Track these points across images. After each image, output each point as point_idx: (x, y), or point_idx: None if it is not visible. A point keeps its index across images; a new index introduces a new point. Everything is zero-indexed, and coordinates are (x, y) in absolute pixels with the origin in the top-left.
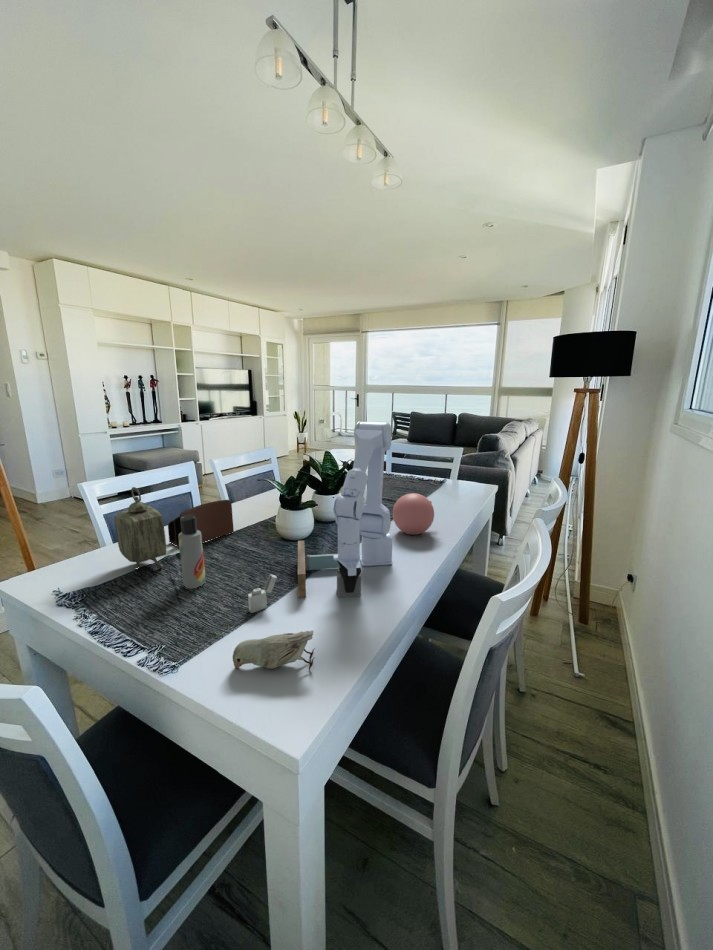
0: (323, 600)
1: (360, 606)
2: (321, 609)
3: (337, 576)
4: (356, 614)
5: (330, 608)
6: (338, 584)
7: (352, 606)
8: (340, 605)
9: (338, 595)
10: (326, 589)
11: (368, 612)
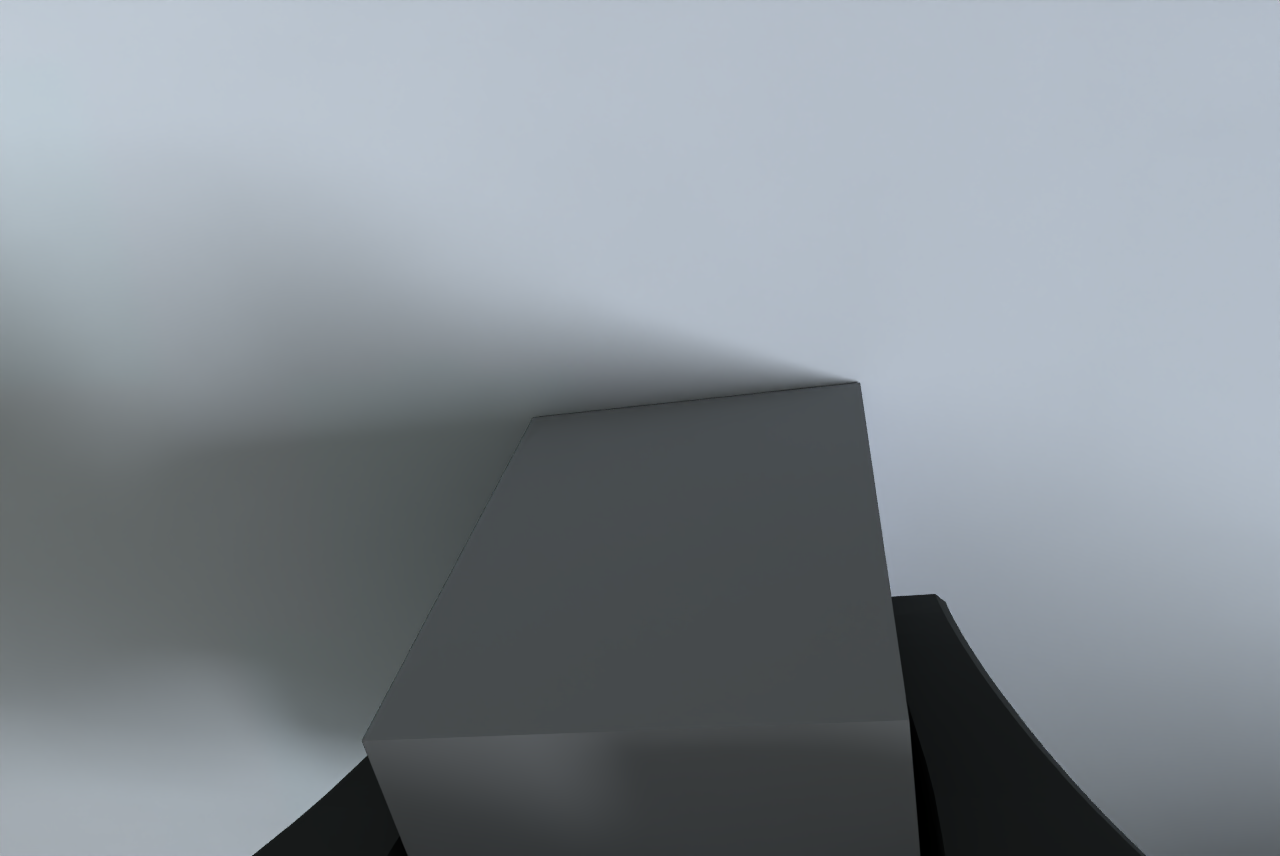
0: (360, 105)
1: (300, 739)
2: (22, 97)
3: (613, 679)
4: (82, 675)
5: (112, 282)
6: (440, 600)
7: (273, 637)
8: (256, 457)
9: (521, 439)
10: (866, 132)
11: (179, 813)
